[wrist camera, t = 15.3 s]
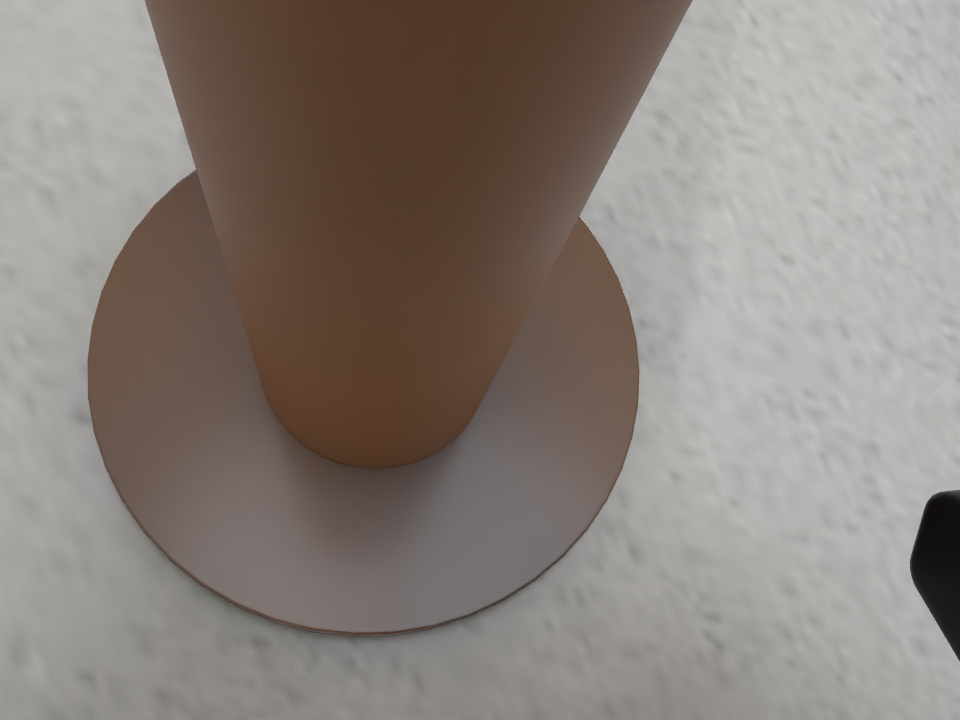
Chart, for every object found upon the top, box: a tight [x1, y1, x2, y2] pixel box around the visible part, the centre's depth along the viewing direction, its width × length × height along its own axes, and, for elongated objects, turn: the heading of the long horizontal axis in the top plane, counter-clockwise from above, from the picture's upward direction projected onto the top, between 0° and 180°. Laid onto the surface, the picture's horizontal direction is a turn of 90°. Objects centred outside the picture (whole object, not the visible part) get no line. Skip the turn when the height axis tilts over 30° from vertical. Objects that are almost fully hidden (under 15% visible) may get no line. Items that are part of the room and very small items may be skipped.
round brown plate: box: [88, 170, 639, 636], centre depth 19 cm, size 12×12×1 cm
